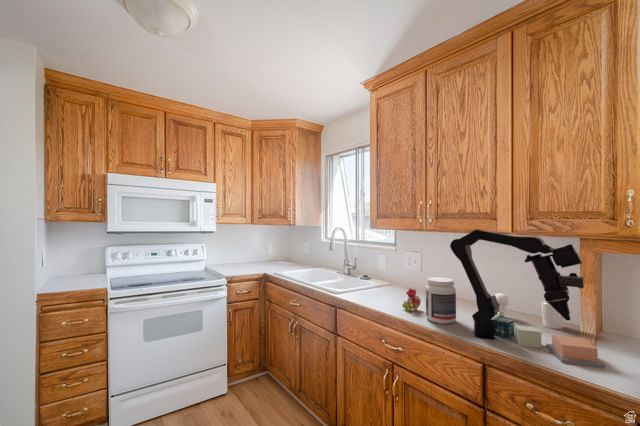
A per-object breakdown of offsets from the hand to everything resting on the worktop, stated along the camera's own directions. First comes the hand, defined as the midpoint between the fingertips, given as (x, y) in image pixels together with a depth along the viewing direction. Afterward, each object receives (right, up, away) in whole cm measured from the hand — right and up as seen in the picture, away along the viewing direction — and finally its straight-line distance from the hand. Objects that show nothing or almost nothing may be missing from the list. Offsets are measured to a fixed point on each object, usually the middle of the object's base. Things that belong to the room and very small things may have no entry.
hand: (568, 317), depth 100 cm
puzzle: (-11, -14, +18) cm, 25 cm away
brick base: (+1, -13, 0) cm, 13 cm away
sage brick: (-7, -13, +10) cm, 18 cm away
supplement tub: (-28, -14, +35) cm, 48 cm away
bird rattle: (-37, -14, +50) cm, 64 cm away
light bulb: (+2, -14, +41) cm, 43 cm away
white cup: (+17, -14, +28) cm, 35 cm away
